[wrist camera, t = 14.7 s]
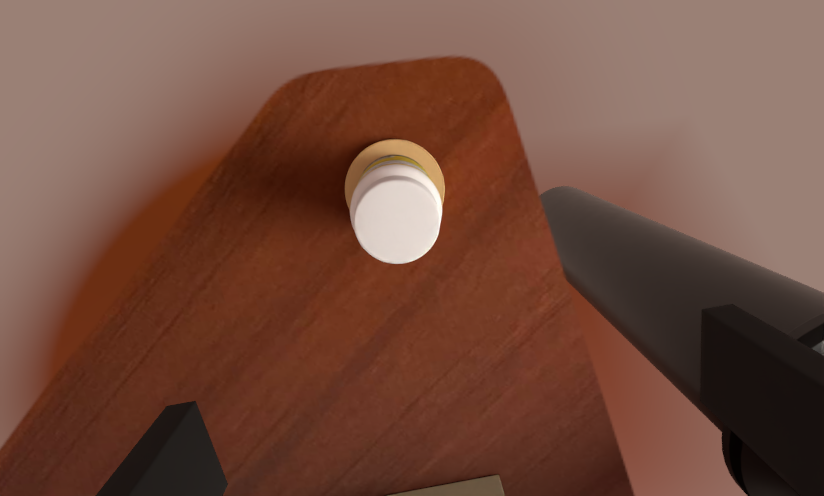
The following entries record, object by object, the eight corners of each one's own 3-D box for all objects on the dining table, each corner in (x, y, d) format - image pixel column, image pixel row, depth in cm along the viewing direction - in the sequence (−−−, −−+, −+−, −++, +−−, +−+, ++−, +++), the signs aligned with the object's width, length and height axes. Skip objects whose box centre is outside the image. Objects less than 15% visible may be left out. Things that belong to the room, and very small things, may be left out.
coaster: (434, 129, 27) (435, 130, 27) (451, 226, 29) (452, 228, 29) (335, 149, 27) (333, 150, 27) (357, 244, 29) (357, 247, 29)
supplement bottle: (417, 236, 29) (427, 285, 21) (348, 214, 28) (331, 256, 20) (442, 167, 27) (463, 191, 19) (371, 142, 27) (362, 156, 19)
